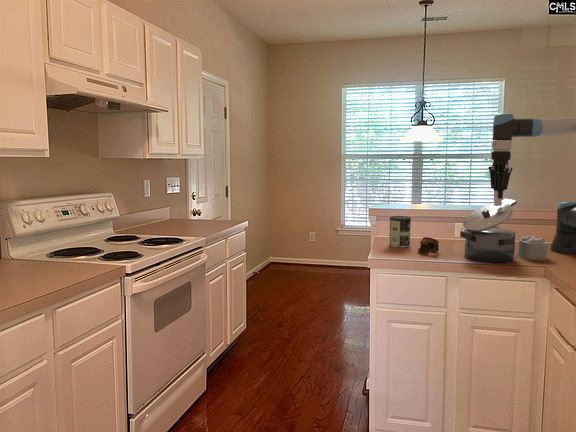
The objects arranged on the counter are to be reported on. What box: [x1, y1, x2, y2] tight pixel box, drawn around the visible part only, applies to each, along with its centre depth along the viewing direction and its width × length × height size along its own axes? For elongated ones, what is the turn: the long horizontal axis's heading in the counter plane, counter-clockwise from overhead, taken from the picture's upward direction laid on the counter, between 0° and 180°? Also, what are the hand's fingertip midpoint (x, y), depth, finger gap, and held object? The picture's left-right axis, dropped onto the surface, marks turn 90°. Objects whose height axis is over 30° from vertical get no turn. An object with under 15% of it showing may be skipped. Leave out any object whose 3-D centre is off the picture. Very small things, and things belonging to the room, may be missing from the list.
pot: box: [459, 227, 516, 265], centre depth 210 cm, size 22×25×12 cm
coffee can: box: [388, 215, 412, 248], centre depth 237 cm, size 10×10×14 cm
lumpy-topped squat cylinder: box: [517, 235, 549, 261], centre depth 214 cm, size 10×13×9 cm
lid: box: [462, 198, 518, 232], centre depth 208 cm, size 24×21×3 cm
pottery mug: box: [417, 236, 440, 256], centre depth 221 cm, size 12×10×8 cm
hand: (497, 205), depth 208 cm, fingers closed
